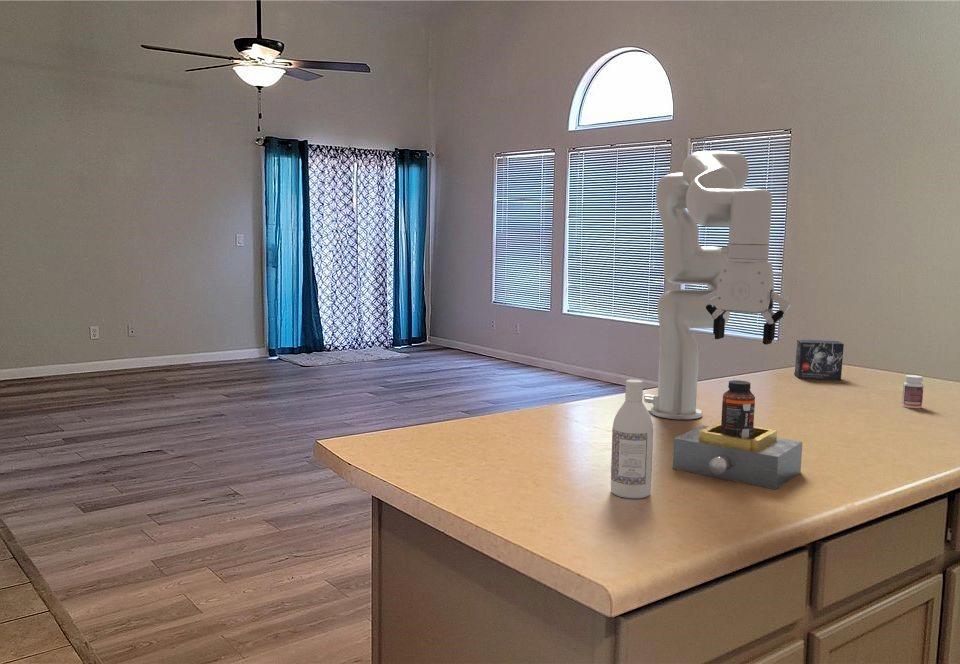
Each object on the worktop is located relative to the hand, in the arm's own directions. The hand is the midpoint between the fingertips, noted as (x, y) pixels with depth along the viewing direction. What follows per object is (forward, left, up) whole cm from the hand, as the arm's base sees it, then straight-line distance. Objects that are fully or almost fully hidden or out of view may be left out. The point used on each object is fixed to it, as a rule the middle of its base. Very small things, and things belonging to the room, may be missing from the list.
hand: (742, 341), depth 159 cm
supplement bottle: (+2, -5, -19) cm, 20 cm away
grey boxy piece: (+2, -7, -24) cm, 26 cm away
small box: (-17, +114, -25) cm, 118 cm away
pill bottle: (+16, +84, -25) cm, 90 cm away
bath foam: (-7, -32, -25) cm, 41 cm away
